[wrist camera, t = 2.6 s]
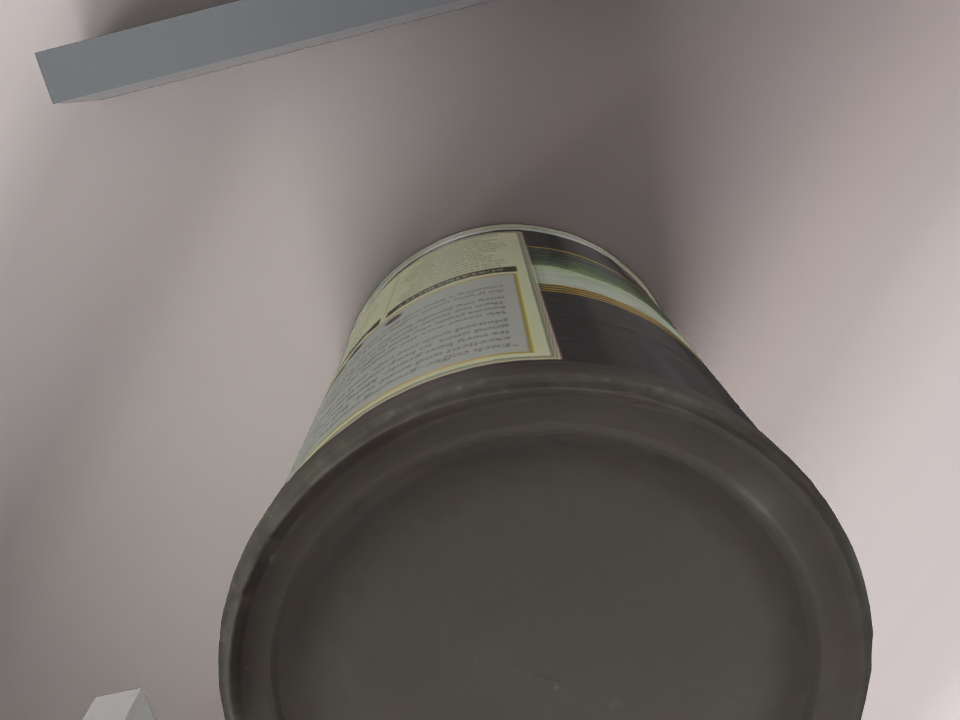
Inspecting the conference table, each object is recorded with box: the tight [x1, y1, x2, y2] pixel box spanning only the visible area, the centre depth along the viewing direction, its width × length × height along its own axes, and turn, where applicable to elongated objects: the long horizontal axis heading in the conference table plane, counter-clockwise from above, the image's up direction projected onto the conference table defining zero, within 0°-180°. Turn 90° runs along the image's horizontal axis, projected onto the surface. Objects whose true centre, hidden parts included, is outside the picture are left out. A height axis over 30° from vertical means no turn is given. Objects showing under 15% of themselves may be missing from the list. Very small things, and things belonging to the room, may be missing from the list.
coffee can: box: [219, 224, 873, 720], centre depth 21 cm, size 10×10×14 cm
